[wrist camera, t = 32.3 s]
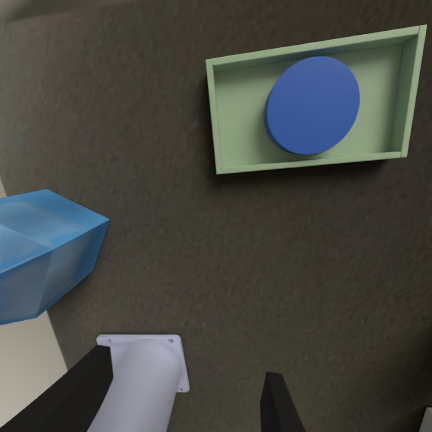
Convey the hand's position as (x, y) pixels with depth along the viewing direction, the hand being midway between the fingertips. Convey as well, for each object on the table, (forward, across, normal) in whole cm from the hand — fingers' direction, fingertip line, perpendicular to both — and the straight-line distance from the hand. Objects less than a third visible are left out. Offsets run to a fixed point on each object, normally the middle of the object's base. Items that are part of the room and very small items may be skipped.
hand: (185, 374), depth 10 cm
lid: (+9, -6, -13) cm, 16 cm away
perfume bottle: (+10, +14, -1) cm, 17 cm away
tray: (+11, -6, -13) cm, 17 cm away
